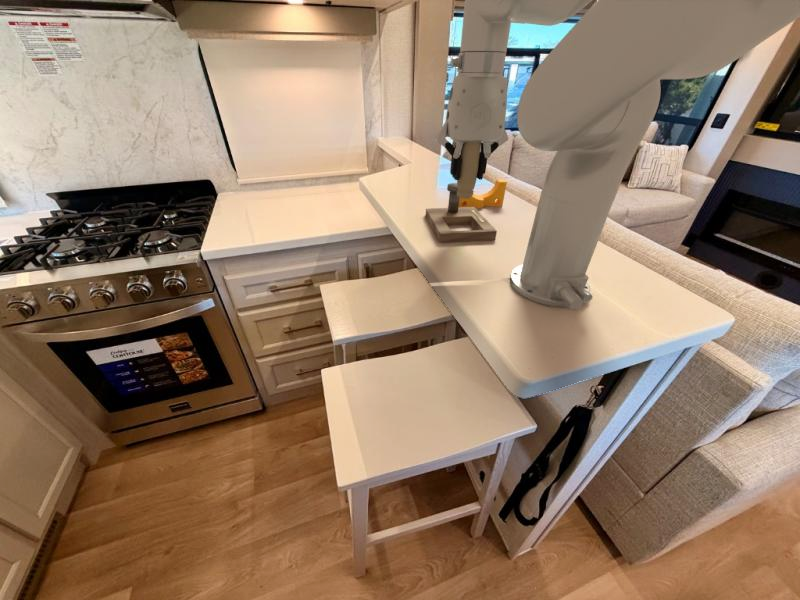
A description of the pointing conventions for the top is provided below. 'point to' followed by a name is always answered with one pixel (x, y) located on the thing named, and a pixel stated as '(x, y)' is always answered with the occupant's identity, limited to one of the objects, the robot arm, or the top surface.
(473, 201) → the pipe clamp
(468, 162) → the handle
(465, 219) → the plate
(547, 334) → the top surface
